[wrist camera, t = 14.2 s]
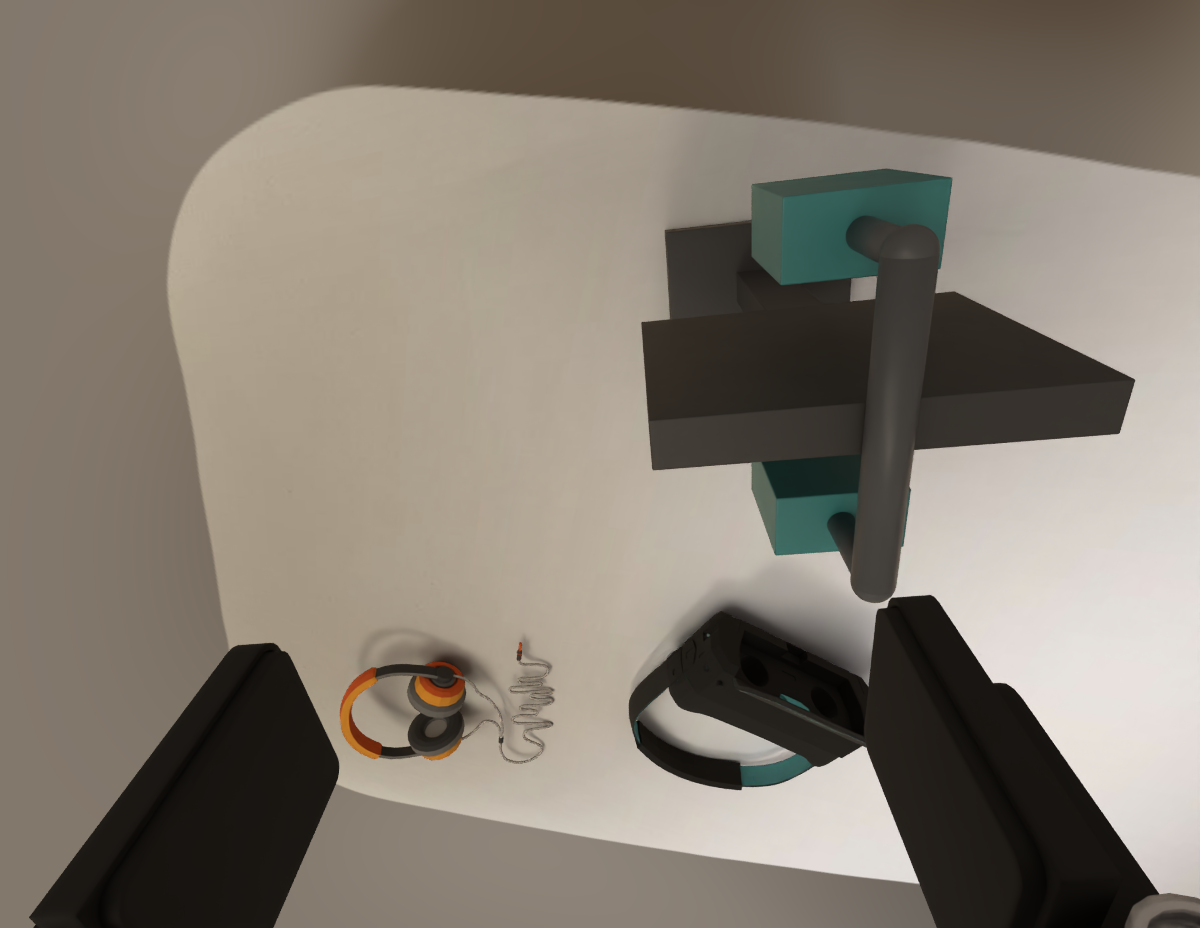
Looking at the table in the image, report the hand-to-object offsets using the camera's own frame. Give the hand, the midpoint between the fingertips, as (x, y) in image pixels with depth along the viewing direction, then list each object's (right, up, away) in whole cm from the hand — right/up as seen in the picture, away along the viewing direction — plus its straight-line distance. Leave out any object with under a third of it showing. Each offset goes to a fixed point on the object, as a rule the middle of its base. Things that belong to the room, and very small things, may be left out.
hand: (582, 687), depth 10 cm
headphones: (-14, -19, +53) cm, 58 cm away
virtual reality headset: (+13, -18, +51) cm, 56 cm away
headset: (+10, +9, +20) cm, 24 cm away
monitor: (+11, +16, +33) cm, 38 cm away
